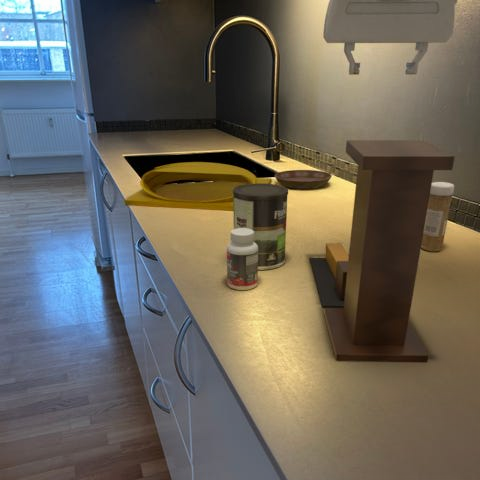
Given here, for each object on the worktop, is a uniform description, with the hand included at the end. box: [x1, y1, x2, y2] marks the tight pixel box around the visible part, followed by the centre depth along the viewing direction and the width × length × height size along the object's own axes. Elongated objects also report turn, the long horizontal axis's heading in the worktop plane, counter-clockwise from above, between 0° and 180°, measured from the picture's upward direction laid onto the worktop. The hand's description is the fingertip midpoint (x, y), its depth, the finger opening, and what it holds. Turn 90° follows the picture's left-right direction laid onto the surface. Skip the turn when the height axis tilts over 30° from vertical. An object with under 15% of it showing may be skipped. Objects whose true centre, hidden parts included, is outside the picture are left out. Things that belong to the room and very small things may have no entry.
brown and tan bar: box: [324, 242, 349, 300], centre depth 91 cm, size 5×20×5 cm, turn 1°
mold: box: [124, 161, 272, 212], centre depth 149 cm, size 35×35×9 cm
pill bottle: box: [226, 228, 259, 291], centre depth 88 cm, size 5×5×10 cm
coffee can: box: [232, 183, 289, 271], centre depth 97 cm, size 10×10×14 cm
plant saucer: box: [274, 169, 333, 190], centre depth 160 cm, size 18×18×3 cm
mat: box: [309, 257, 344, 309], centre depth 91 cm, size 12×22×1 cm, turn 178°
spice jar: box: [421, 181, 455, 252], centre depth 104 cm, size 5×5×14 cm
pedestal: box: [323, 139, 456, 363], centre depth 68 cm, size 12×14×26 cm
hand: (382, 74), depth 85 cm, fingers open, 8 cm apart
